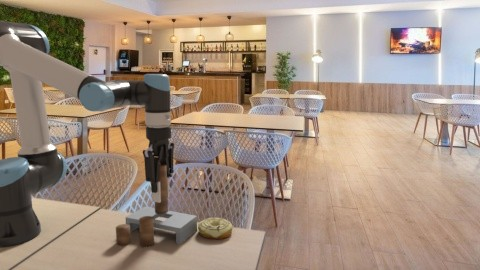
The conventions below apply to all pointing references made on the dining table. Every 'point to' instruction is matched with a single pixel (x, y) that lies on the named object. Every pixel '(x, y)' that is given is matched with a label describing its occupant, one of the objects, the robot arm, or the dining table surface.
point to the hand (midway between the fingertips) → (160, 199)
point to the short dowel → (123, 234)
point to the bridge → (166, 222)
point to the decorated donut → (215, 228)
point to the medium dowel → (146, 231)
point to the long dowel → (162, 191)
